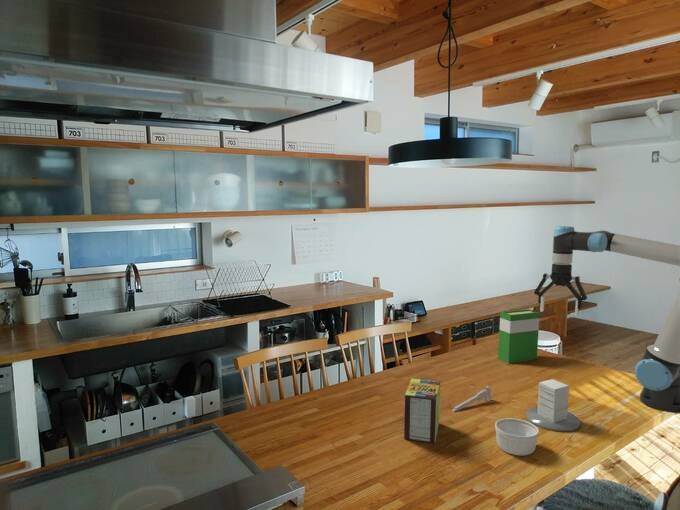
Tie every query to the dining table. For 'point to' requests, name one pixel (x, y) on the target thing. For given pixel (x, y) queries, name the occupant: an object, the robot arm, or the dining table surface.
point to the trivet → (561, 426)
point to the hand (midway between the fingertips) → (558, 313)
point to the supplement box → (553, 400)
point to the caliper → (475, 398)
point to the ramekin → (516, 436)
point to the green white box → (518, 335)
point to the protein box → (422, 410)
